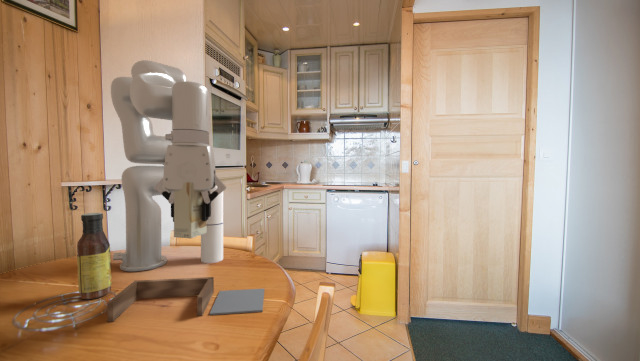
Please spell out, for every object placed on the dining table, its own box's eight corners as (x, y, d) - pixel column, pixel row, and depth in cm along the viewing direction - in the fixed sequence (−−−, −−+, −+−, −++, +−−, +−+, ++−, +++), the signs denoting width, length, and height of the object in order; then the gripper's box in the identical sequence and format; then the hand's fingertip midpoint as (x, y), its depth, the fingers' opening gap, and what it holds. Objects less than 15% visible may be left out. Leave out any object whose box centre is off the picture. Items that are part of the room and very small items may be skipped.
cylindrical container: (218, 263, 91) (218, 187, 90) (197, 262, 91) (196, 187, 90) (226, 256, 98) (226, 186, 97) (206, 256, 98) (206, 185, 97)
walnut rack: (107, 321, 55) (107, 302, 55) (135, 297, 66) (134, 280, 66) (202, 315, 58) (202, 297, 58) (213, 292, 69) (213, 277, 69)
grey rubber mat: (209, 315, 59) (209, 313, 59) (219, 292, 69) (219, 290, 69) (262, 311, 60) (262, 309, 60) (264, 290, 71) (264, 288, 71)
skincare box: (191, 239, 59) (191, 182, 59) (172, 238, 60) (172, 181, 59) (207, 232, 65) (208, 181, 65) (191, 231, 66) (191, 180, 66)
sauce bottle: (117, 291, 69) (116, 212, 68) (89, 302, 63) (88, 216, 62) (99, 287, 71) (98, 211, 70) (71, 298, 65) (69, 214, 64)
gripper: (141, 136, 57) (142, 224, 57) (227, 139, 59) (227, 223, 60) (157, 140, 64) (157, 218, 65) (233, 142, 67) (233, 217, 67)
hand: (191, 219), depth 62 cm, fingers closed on skincare box, 5 cm apart
